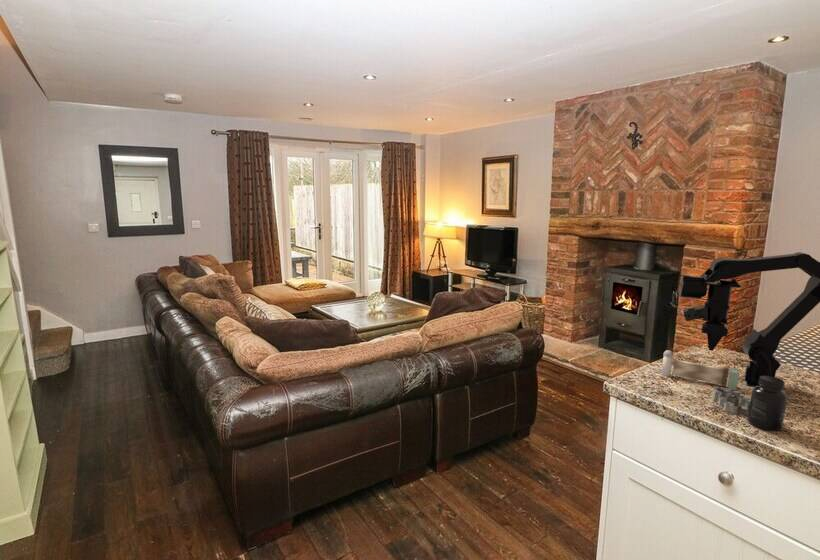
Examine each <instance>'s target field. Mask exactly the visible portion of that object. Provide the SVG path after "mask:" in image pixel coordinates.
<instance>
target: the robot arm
mask: <svg viewBox="0 0 820 560" xmlns="http://www.w3.org/2000/svg"><path fill="white" fill-rule="evenodd" d="M792 269H800V270H801V271H802V272H803V273H805V274H807V275H808V276H810V277H809V279H808V280H807V282H806V285H805V287H804V289H803V291H802V292H801V294H799V295H798V296H797V297H796V298H795V299H794V300H793V301H792V302H791V303H790V304H789V305H788V306H787V307H786V308H785V309H784V310H783V311H782V312H781V313H780V314H778V316H777V317H776V318H774V320H773V321H772V322H771V323H769V324H768V325H767V326H766V327H765V328H763V329H762V330H760V331H759V330H758V331H757V330H756V329H755V328H753V329H752V330H751V331H750V333H749V334H748V335H747V336H745V337H743V342H742V344H741V345H742V350H743V352H744V353H745V354H746V355H747V356H748V359H750V360H749V361H748V365H746V366H745V371H744V376H743V377H744V381H745V383H746V385H747V386H751V387H756V386H759V384H758V382H759V378H760V376H772V377H776V373H777V371H778V370H779V369H780V367H781V362H779V361H778V360H777V359H776V358H775V357H774V354H775V353H776V351H777V350H778V348H779V345H780V343H781V341H782V339H783V338H784V337H785V336H786V335H788V333H790V331H791V330H793V329H794V328H795V326H797V325H798V324H799V323H800V322H801V321H802V320H803V319H804V318H805V317H806V316H807V315H808V314H809V313H810V312H811V311H813V310H814V309H815V308H816V307H817V305H819V304H820V261H818V260H817V259H815V258H814V257H812V256H811V255H810V254H808V253H805V252H800V251H799V252H794V253H789V254H788V253H787V254H778V255H770V256H759V257H751V258H741V257H740V258H738V257H717V258H715V259H713V260H712V261H711V262H710V264H709V268H708V269H706V270H705V271H704V272H703V273H701V275H700V276H697V275H689V274H682V277H681V279H680V282H679V284H678V297H679V298H689V299H700V300H701V299H702V298H705V296H706V295H707V296H706V301H705V302H704V305H698V306H697V305H696V306H691V307H686V308H683V310H682V313H683V317H684V320H685V322H691V321H694V320H701V319H702V322H703V321H704V322H703V323H702V326H701V333H703V334H706V335H707V336H706V337H707V348H708V350H709V351H714V350H715V348H717V347H716V346H718V344H719V343H720V341H721V340H722V339H723V337H727V336H728V332H729V327H728V325H727V324H728V314H729V311H730V301H731V296H732V289H733V288H741V285H740V284H739V282H737V280H736V278H740V277H742V276H744V275H747V274H751V273H759V272H760V273H761V272H770V271H780V270H792Z"/></svg>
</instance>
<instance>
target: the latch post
mask: <svg viewBox="0 0 820 560" xmlns="http://www.w3.org/2000/svg"><path fill="white" fill-rule="evenodd" d="M739 374H740V373H739V369H737V368H734V367H733V368H731V367H730V368H729V371H728V378H727V389H732V391H736V390H737V388H738V380H739V376H740V375H739Z"/></svg>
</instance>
